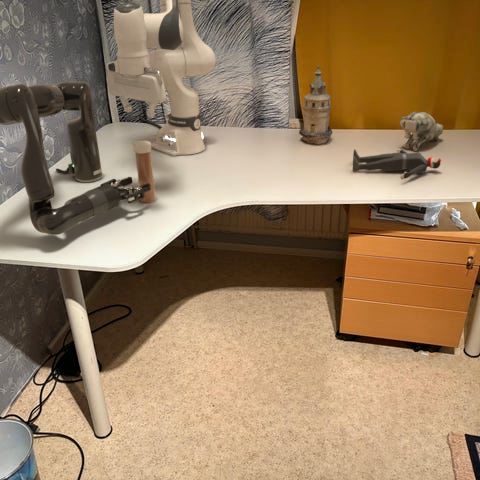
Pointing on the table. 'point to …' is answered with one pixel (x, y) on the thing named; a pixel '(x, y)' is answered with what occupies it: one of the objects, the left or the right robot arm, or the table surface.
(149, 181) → the tan tall cylinder
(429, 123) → the figurine
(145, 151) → the lid
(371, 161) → the toy
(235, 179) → the table surface
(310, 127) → the miniature building
